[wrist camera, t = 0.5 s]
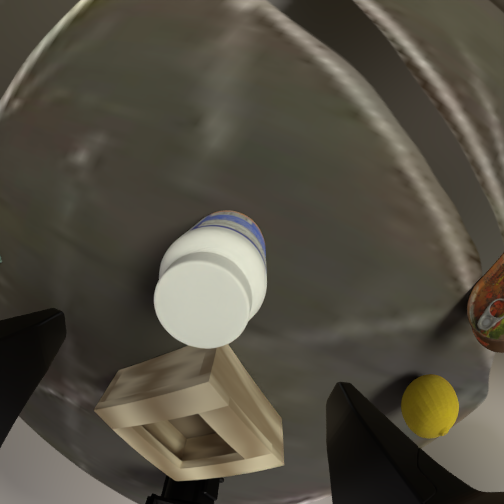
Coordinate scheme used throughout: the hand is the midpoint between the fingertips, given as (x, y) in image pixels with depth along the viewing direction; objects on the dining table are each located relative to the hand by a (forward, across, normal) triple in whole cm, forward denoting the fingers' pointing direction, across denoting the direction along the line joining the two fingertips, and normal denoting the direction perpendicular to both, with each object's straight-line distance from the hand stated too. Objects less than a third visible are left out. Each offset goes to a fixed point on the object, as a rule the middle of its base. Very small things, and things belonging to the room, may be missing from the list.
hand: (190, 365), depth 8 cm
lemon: (+13, -21, +10) cm, 27 cm away
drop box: (+13, 0, +16) cm, 20 cm away
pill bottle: (+13, 0, 0) cm, 13 cm away
